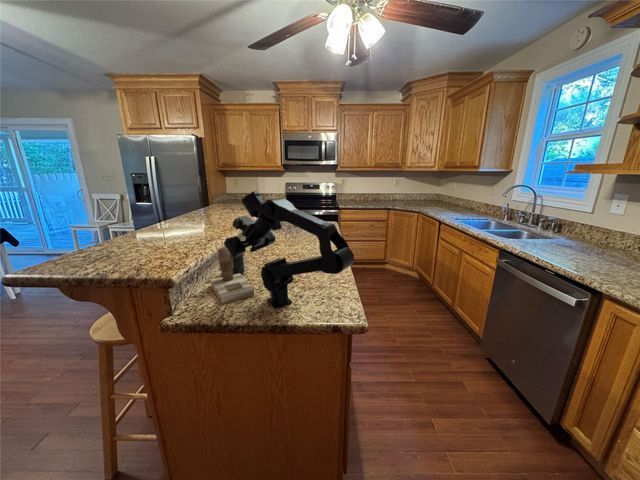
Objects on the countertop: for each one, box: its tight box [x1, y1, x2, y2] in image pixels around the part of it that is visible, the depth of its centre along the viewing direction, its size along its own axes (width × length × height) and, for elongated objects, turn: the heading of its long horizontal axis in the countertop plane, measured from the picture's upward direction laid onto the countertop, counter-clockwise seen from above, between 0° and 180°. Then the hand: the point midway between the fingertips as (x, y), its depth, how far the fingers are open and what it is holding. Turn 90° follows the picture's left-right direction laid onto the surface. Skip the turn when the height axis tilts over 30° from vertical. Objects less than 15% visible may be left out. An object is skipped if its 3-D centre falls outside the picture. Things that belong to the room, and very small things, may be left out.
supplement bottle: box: [232, 254, 246, 275], centre depth 105 cm, size 7×7×12 cm
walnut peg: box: [217, 246, 234, 281], centre depth 93 cm, size 5×5×12 cm
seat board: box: [210, 273, 255, 305], centre depth 91 cm, size 16×11×2 cm
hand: (241, 254), depth 89 cm, fingers open, 9 cm apart
